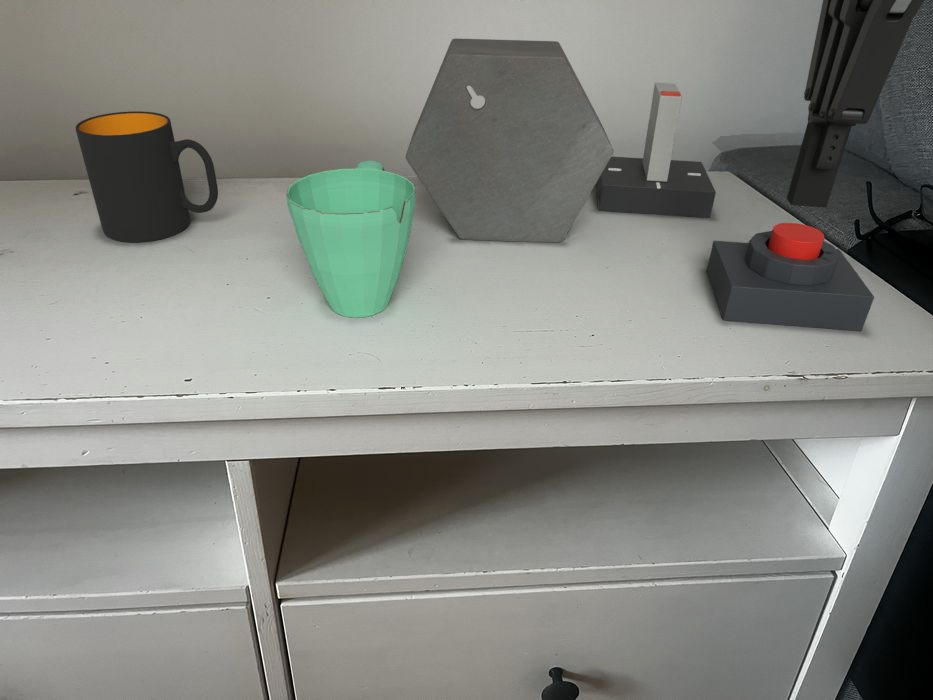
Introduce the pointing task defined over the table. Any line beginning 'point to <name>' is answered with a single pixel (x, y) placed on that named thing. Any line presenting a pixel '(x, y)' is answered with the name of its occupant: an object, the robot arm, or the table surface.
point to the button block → (787, 286)
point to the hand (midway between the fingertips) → (806, 202)
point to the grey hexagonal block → (508, 141)
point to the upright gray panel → (661, 131)
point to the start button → (796, 241)
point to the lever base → (655, 189)
